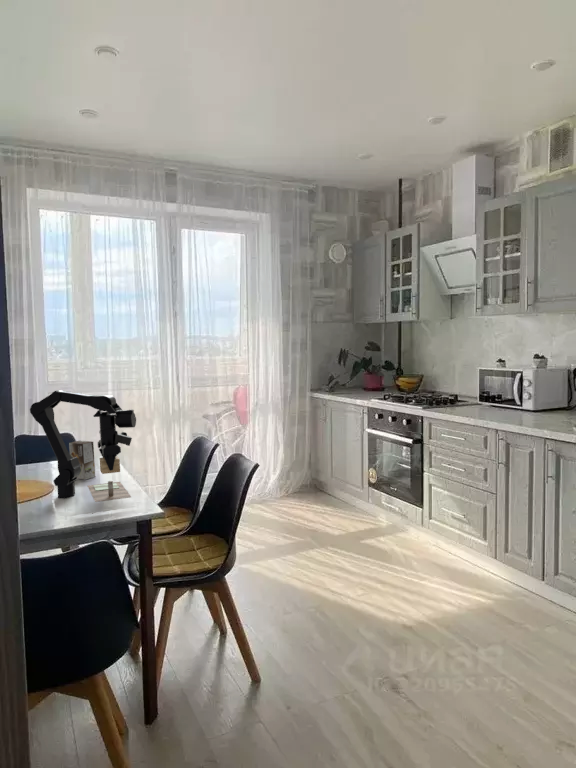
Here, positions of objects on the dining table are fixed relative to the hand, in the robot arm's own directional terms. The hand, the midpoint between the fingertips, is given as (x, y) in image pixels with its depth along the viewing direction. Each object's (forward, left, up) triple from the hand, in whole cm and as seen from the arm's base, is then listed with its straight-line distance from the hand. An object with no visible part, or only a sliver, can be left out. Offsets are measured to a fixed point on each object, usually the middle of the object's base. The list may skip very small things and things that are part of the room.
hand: (109, 468), depth 217 cm
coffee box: (+31, +31, -12) cm, 45 cm away
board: (+6, +4, -12) cm, 14 cm away
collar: (0, 0, -1) cm, 1 cm away
